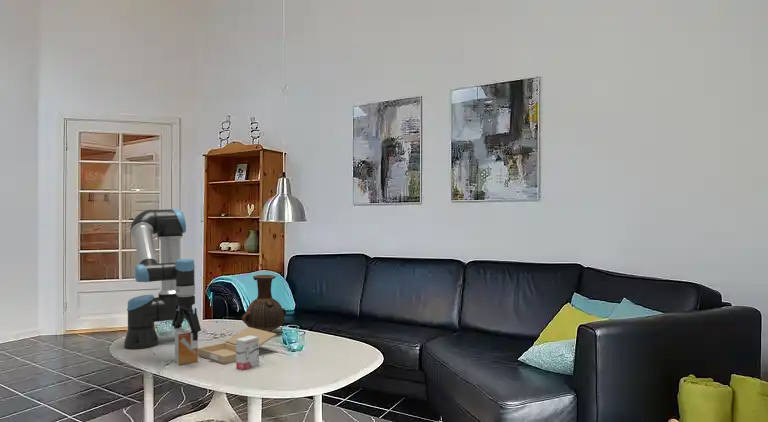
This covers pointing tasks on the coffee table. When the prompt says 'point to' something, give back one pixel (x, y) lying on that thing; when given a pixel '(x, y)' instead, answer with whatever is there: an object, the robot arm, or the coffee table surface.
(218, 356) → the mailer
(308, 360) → the coffee table surface
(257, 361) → the ink box
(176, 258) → the robot arm
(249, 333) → the lid
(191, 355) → the small box
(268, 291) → the vase
